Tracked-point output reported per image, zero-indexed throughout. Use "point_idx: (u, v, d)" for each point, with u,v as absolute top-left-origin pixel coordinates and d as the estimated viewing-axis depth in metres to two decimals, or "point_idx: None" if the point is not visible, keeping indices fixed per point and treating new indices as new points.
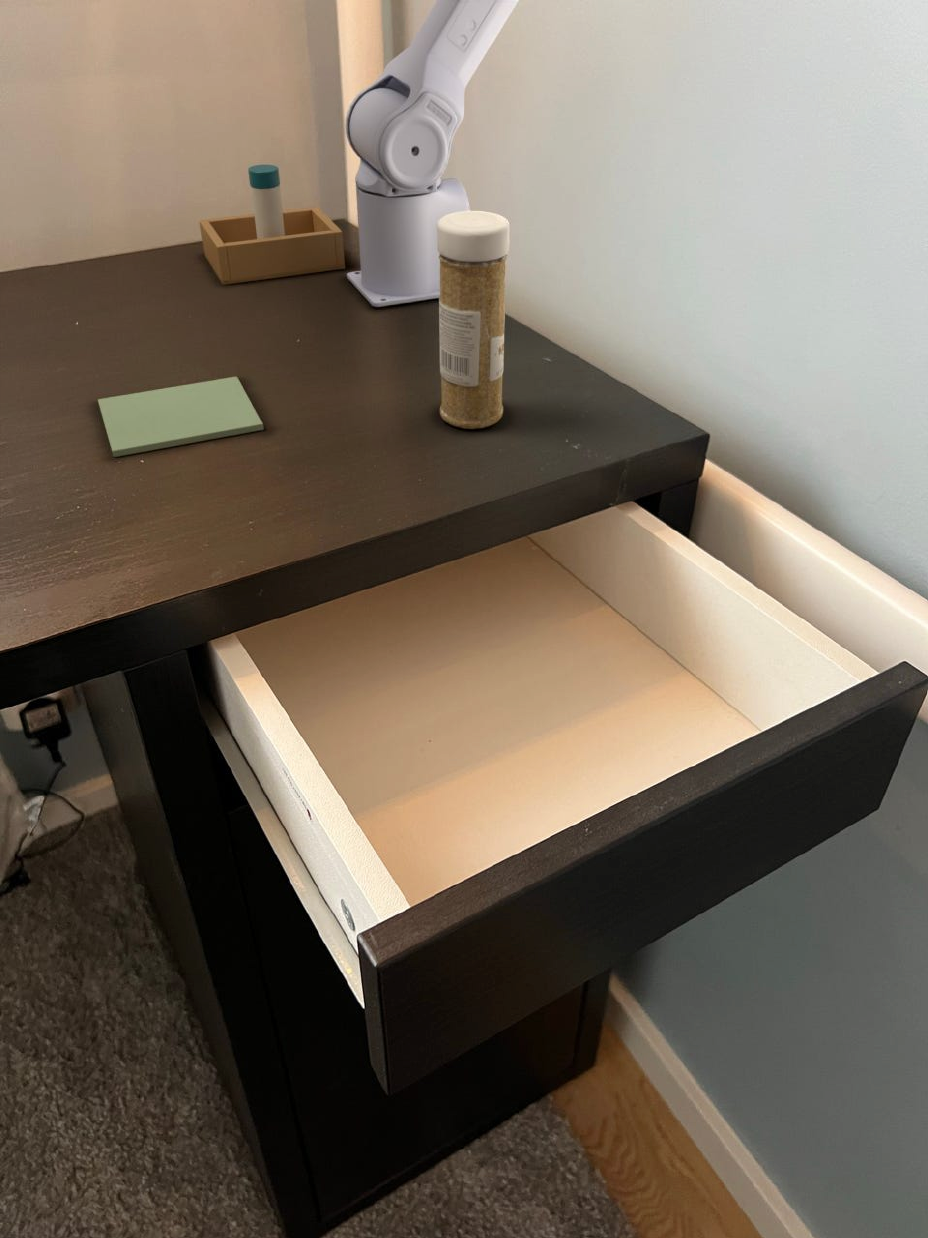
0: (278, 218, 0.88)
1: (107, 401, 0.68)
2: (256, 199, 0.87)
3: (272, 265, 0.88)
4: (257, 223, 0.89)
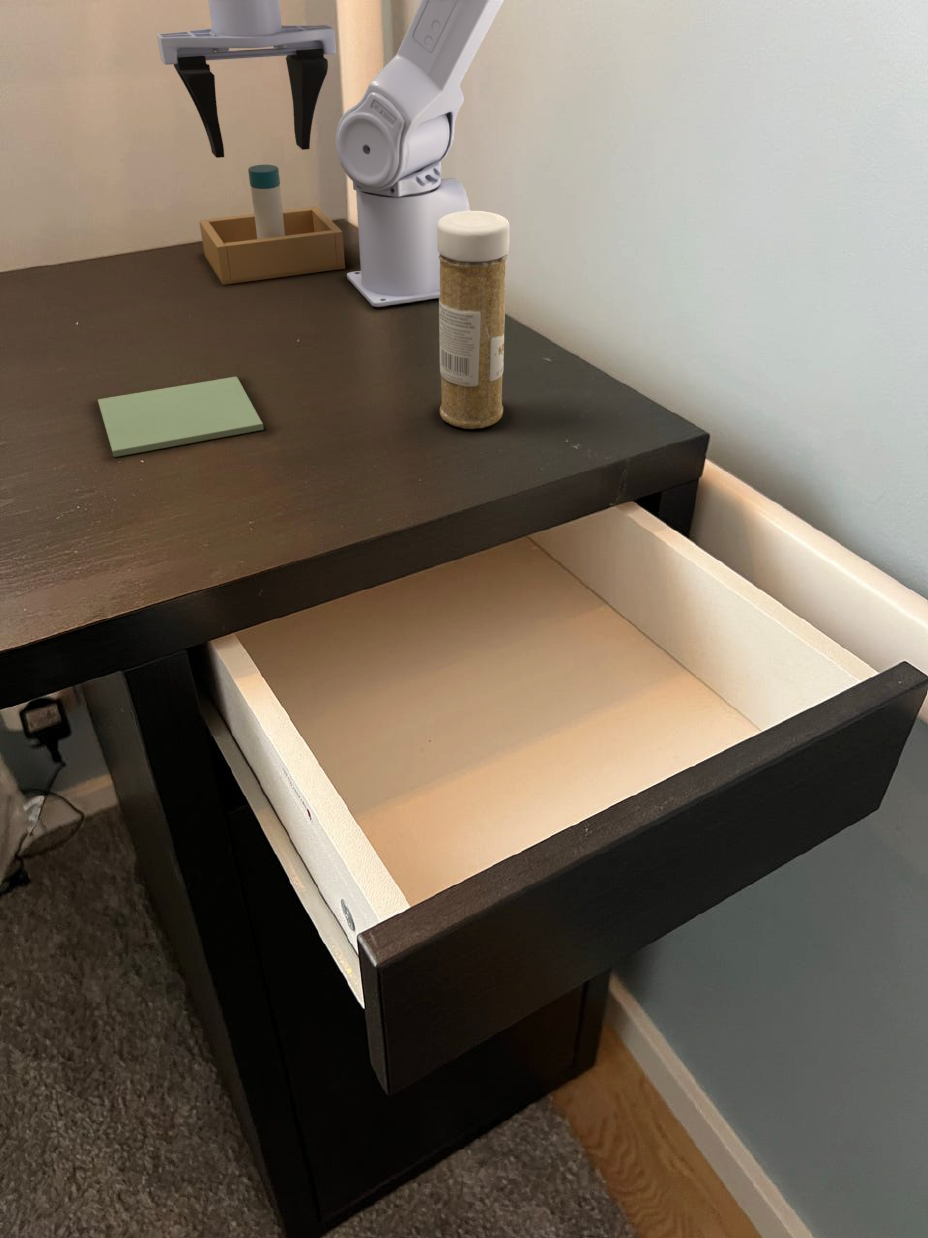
0: (278, 218, 0.88)
1: (107, 401, 0.68)
2: (256, 199, 0.87)
3: (272, 265, 0.88)
4: (257, 223, 0.89)
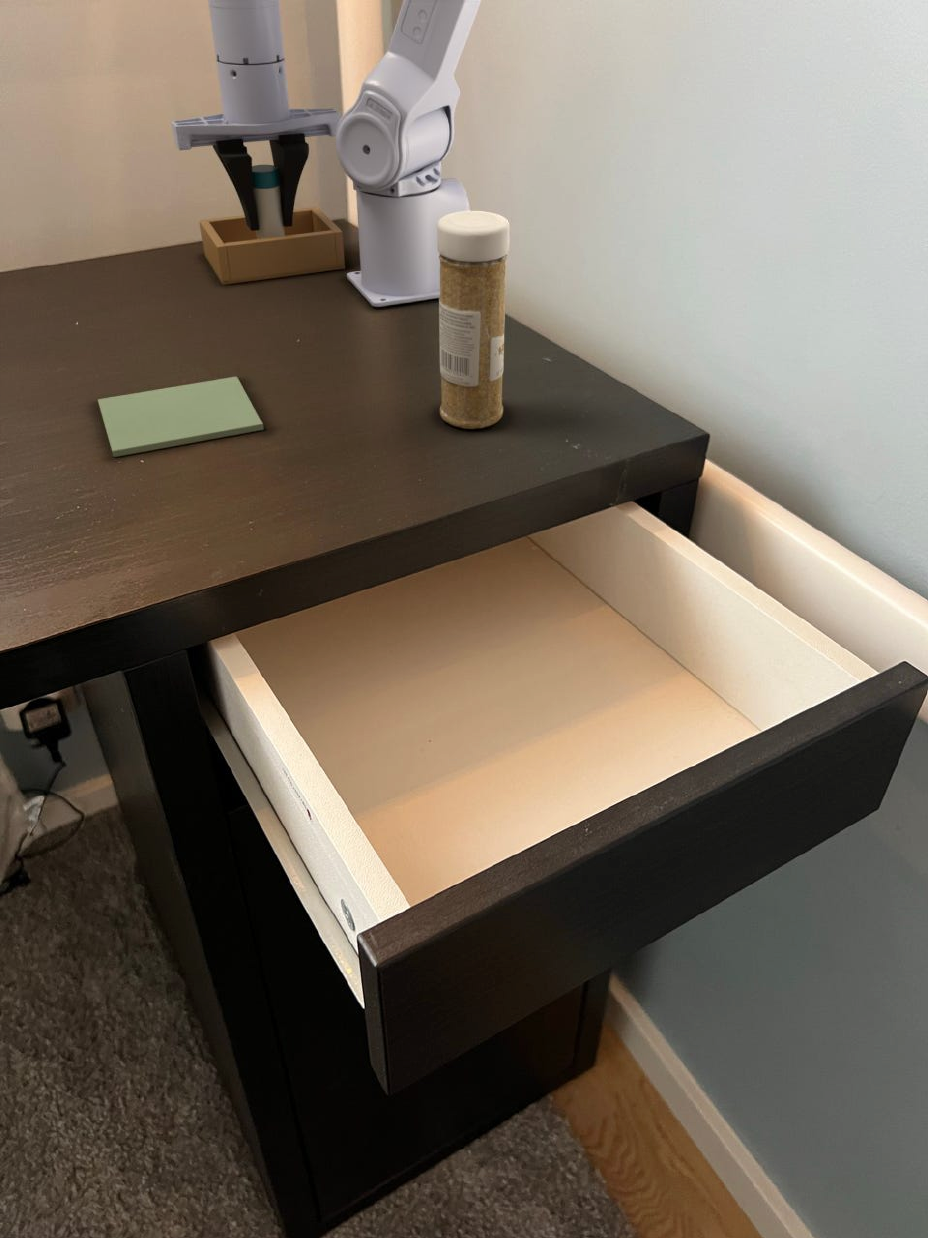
0: (278, 218, 0.88)
1: (107, 401, 0.68)
2: (256, 199, 0.87)
3: (272, 265, 0.88)
4: None
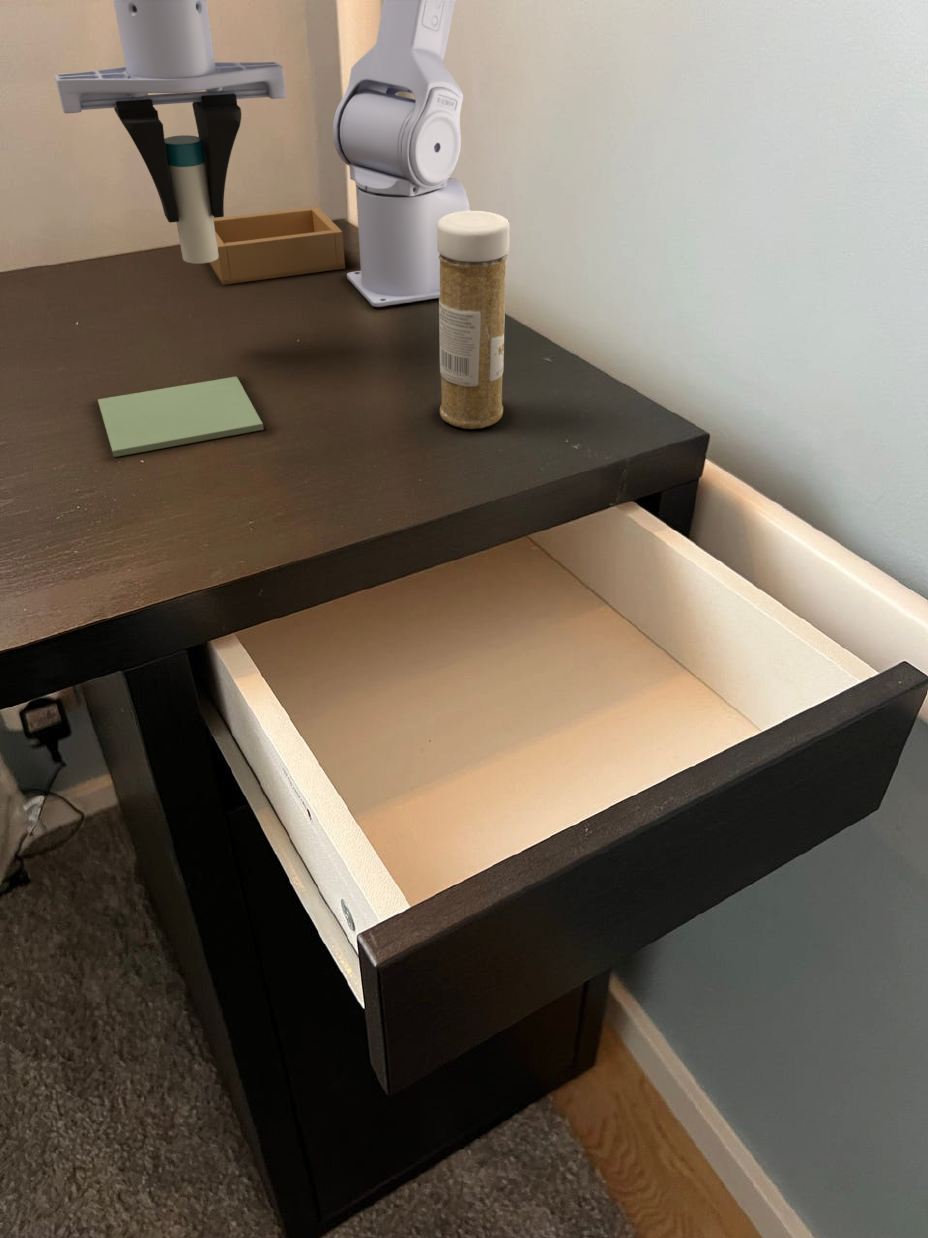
0: (204, 206, 0.68)
1: (107, 401, 0.68)
2: (174, 181, 0.66)
3: (272, 265, 0.88)
4: None
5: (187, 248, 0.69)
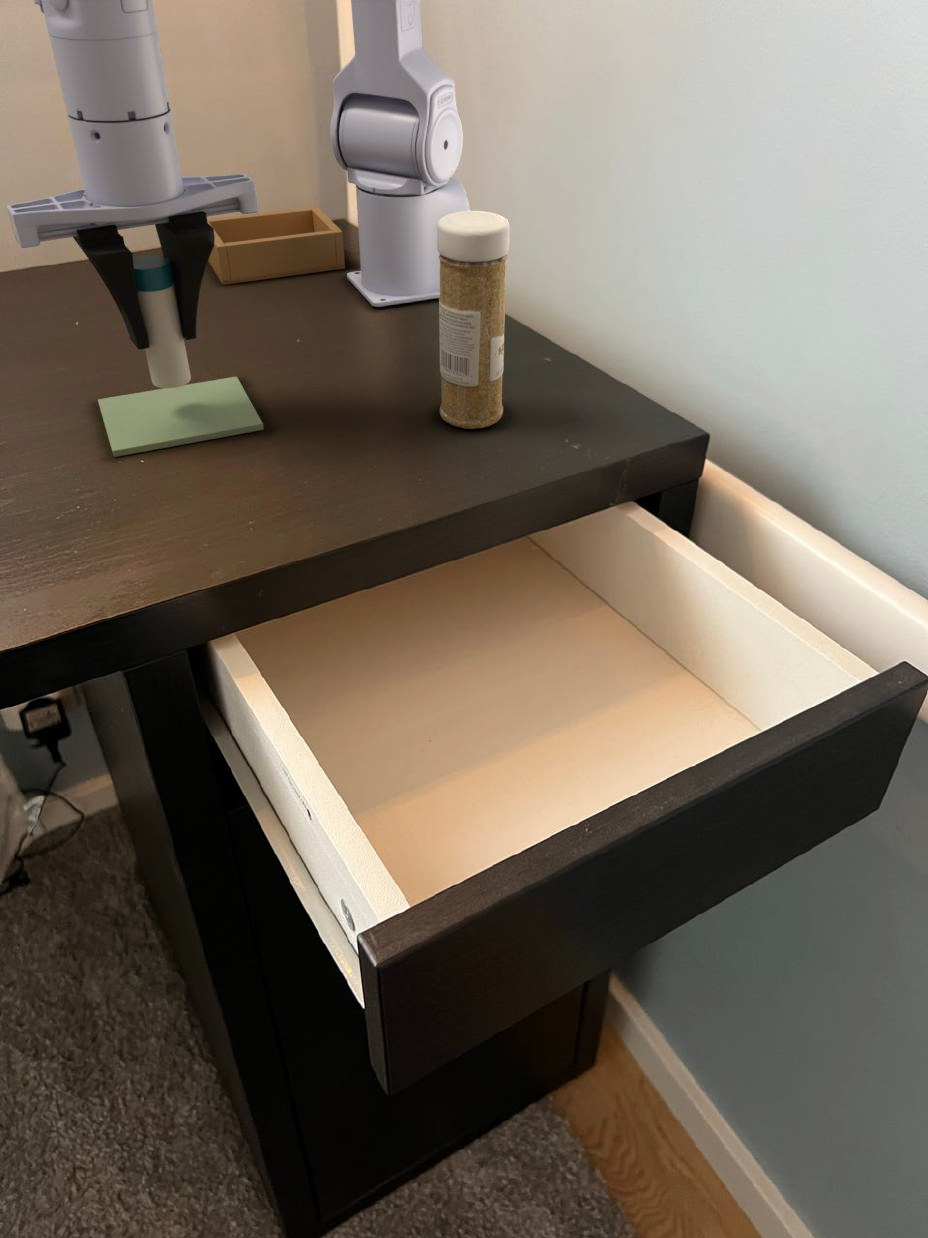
0: (175, 329, 0.63)
1: (107, 401, 0.68)
2: (142, 306, 0.61)
3: (272, 265, 0.88)
4: None
5: (158, 373, 0.64)
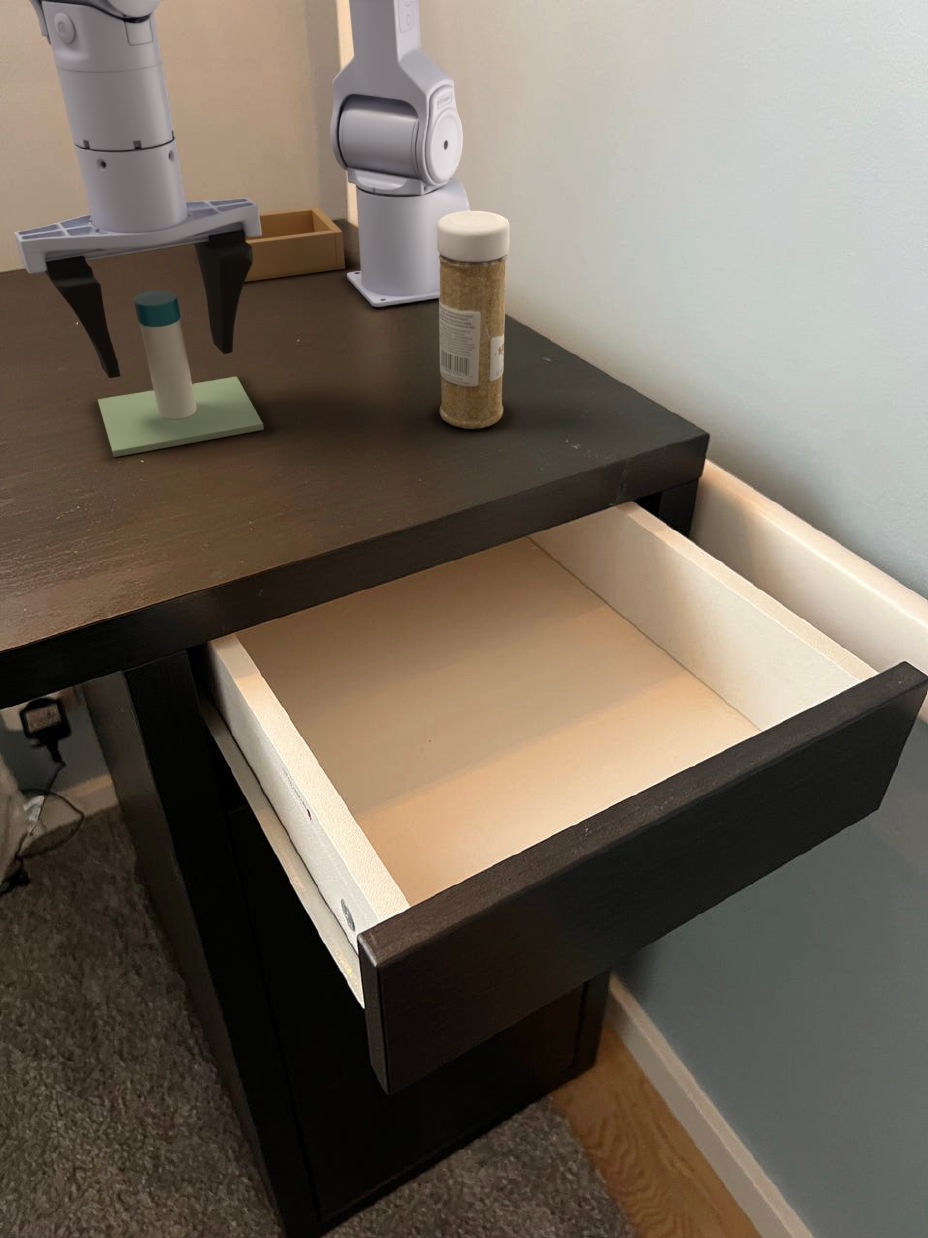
0: (181, 362, 0.64)
1: (107, 401, 0.68)
2: (149, 341, 0.63)
3: (272, 265, 0.88)
4: (152, 371, 0.64)
5: (165, 405, 0.65)
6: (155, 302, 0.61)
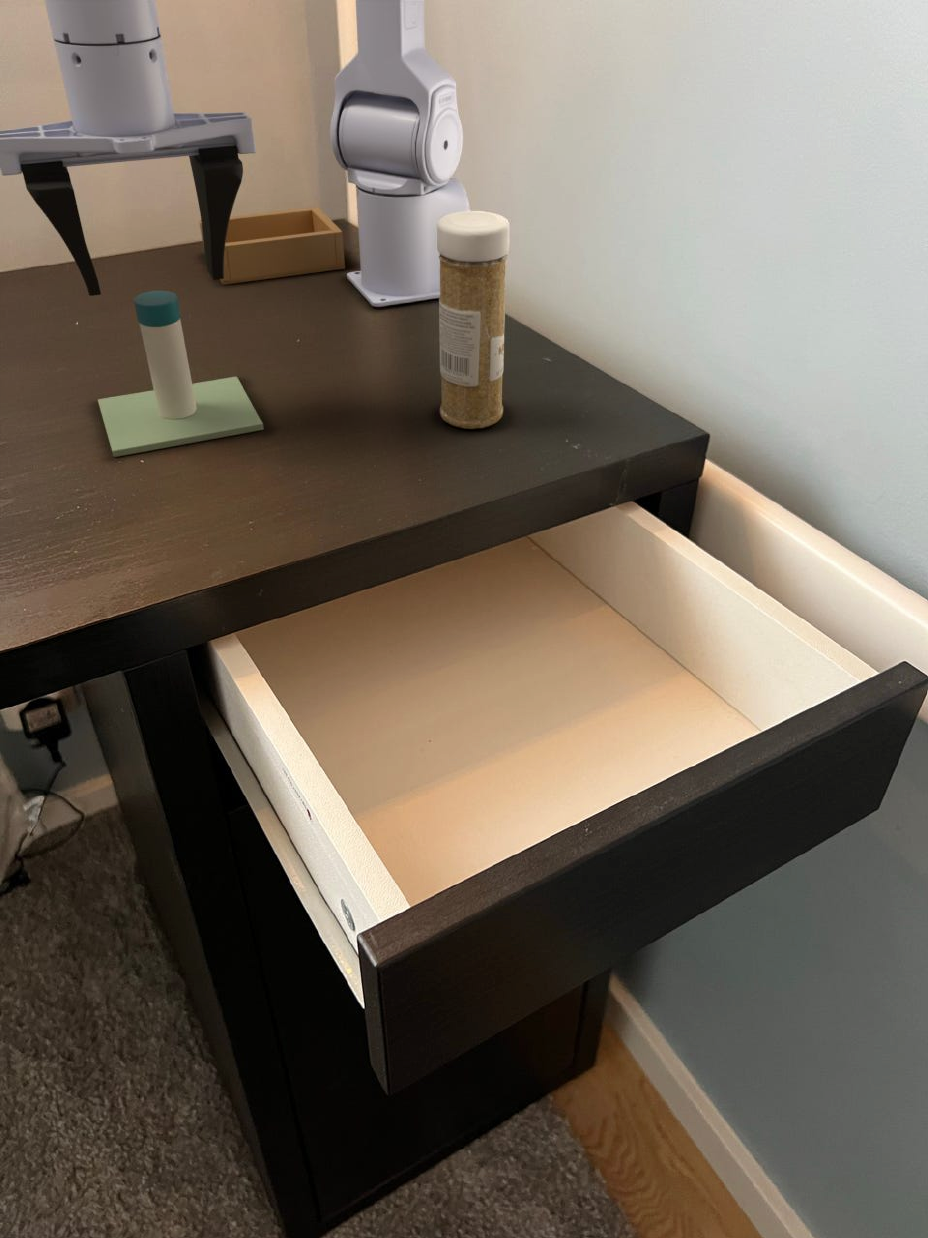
0: (181, 362, 0.64)
1: (107, 401, 0.68)
2: (149, 341, 0.63)
3: (272, 265, 0.88)
4: (152, 371, 0.64)
5: (165, 405, 0.65)
6: (155, 302, 0.61)
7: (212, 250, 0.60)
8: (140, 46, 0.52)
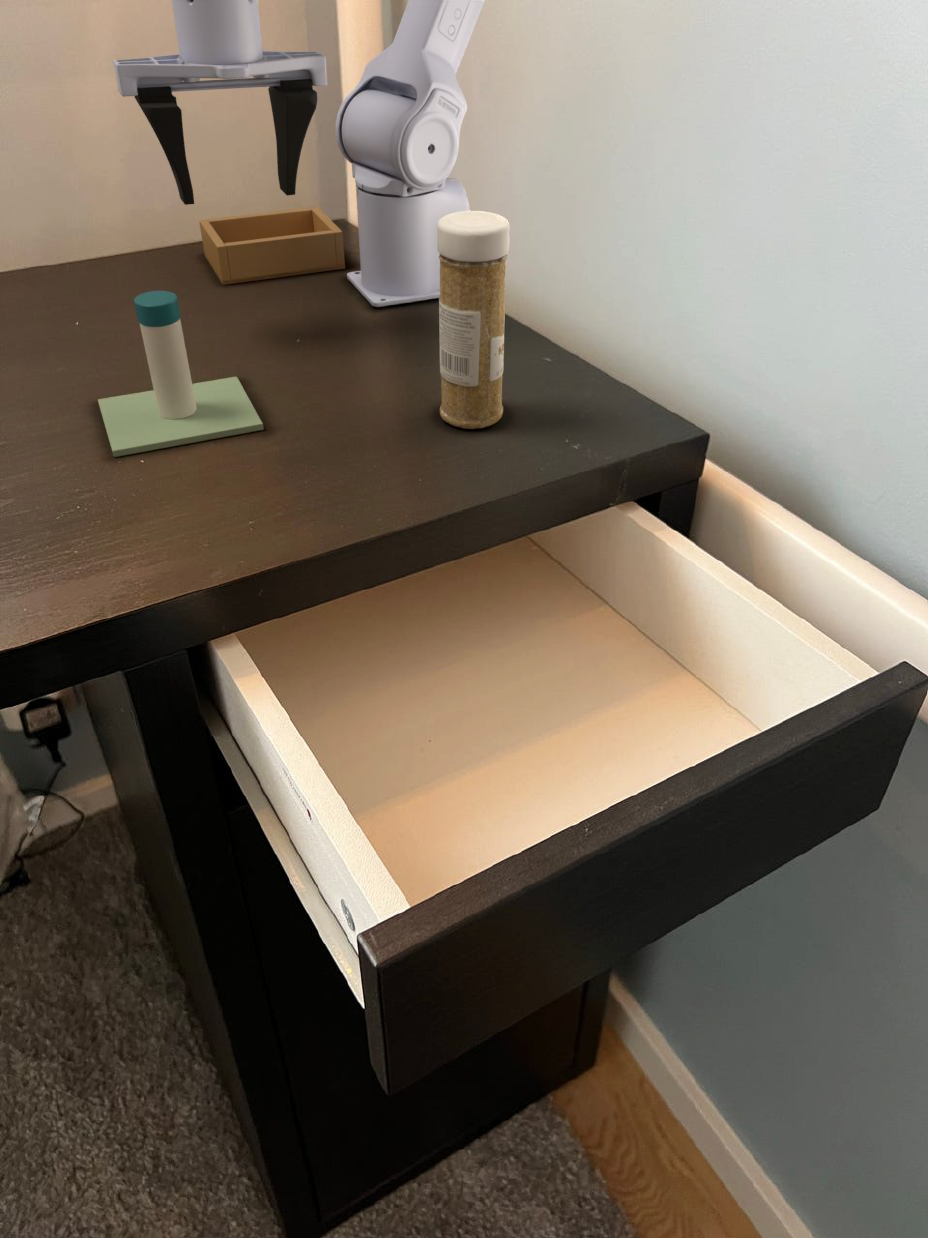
0: (181, 362, 0.64)
1: (107, 401, 0.68)
2: (149, 341, 0.63)
3: (272, 265, 0.88)
4: (152, 371, 0.64)
5: (165, 405, 0.65)
6: (155, 302, 0.61)
7: (287, 168, 0.72)
8: None
